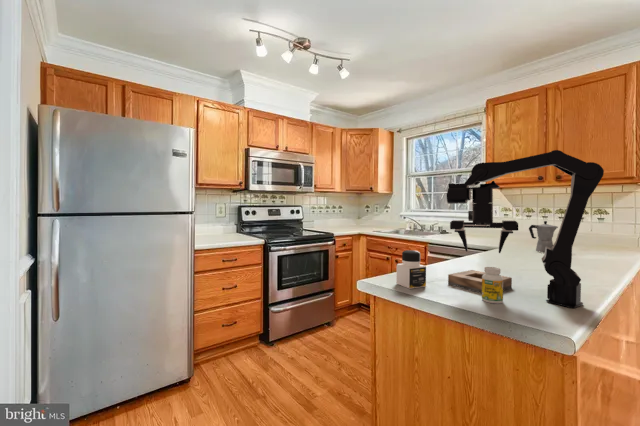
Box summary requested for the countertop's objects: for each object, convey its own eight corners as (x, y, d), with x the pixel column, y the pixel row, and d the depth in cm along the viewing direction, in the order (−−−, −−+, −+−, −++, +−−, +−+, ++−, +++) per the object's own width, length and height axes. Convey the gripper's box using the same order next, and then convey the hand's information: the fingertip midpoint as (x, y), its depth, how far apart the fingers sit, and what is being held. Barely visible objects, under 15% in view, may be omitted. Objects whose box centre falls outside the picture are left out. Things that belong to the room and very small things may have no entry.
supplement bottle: (502, 299, 89) (503, 267, 88) (503, 305, 84) (503, 270, 84) (481, 297, 91) (482, 265, 91) (481, 302, 87) (481, 268, 86)
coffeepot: (552, 250, 184) (553, 220, 183) (562, 252, 175) (562, 221, 174) (524, 249, 187) (525, 220, 186) (532, 251, 178) (533, 221, 177)
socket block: (511, 288, 101) (511, 277, 101) (488, 294, 94) (488, 283, 93) (471, 279, 113) (471, 269, 113) (448, 284, 105) (448, 274, 105)
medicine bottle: (409, 289, 100) (409, 253, 99) (395, 283, 106) (396, 250, 106) (426, 286, 102) (426, 251, 102) (412, 281, 109) (412, 248, 109)
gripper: (514, 202, 99) (515, 250, 99) (452, 203, 108) (453, 247, 108) (518, 202, 89) (518, 255, 89) (449, 203, 98) (450, 251, 98)
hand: (482, 252), depth 96 cm, fingers open, 9 cm apart
